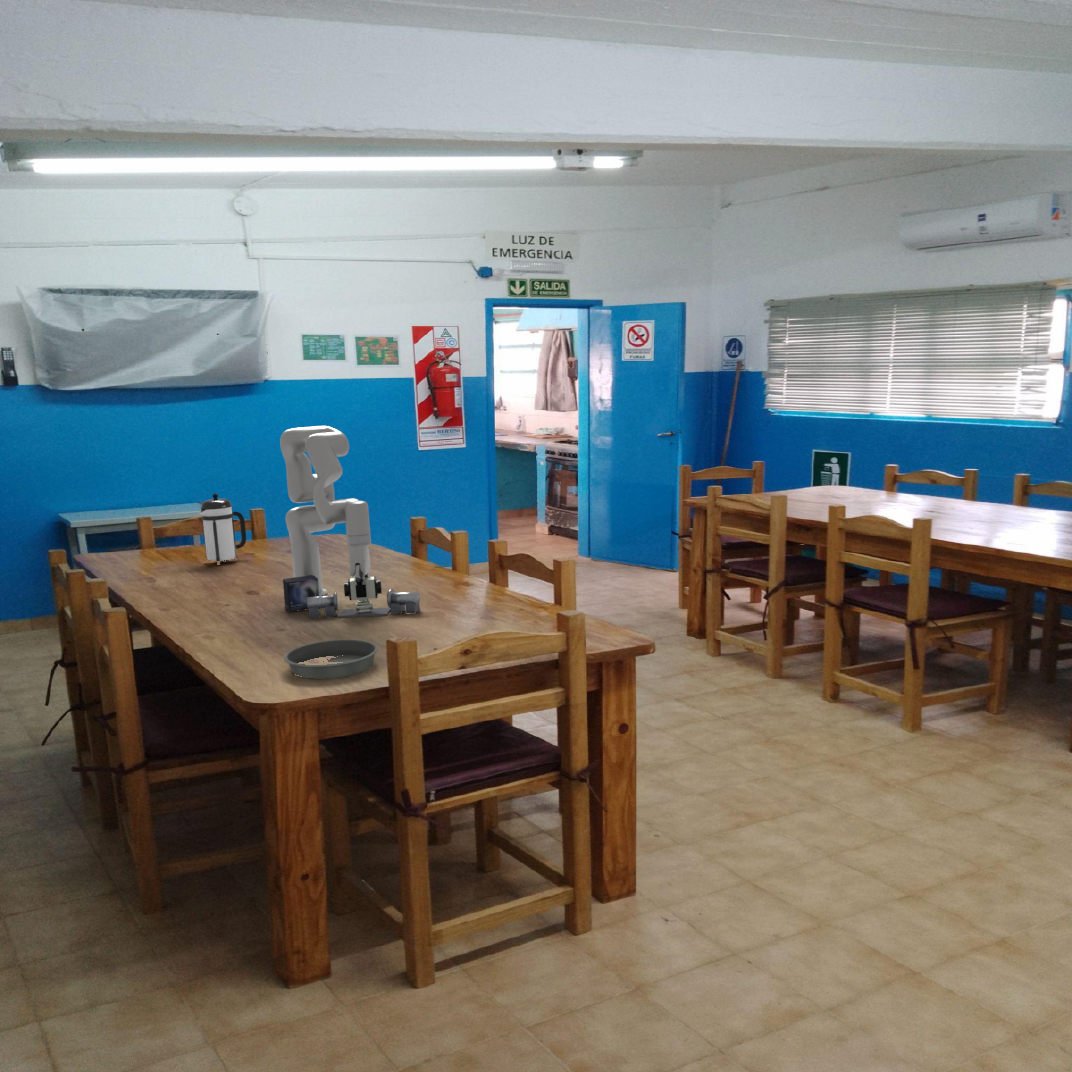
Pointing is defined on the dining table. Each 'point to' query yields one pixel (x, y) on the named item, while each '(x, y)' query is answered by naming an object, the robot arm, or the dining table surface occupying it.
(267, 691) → the dining table surface
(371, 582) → the pneumatic valve
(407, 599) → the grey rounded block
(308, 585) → the small box
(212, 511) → the coffee press
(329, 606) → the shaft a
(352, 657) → the cake pan
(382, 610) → the pad
